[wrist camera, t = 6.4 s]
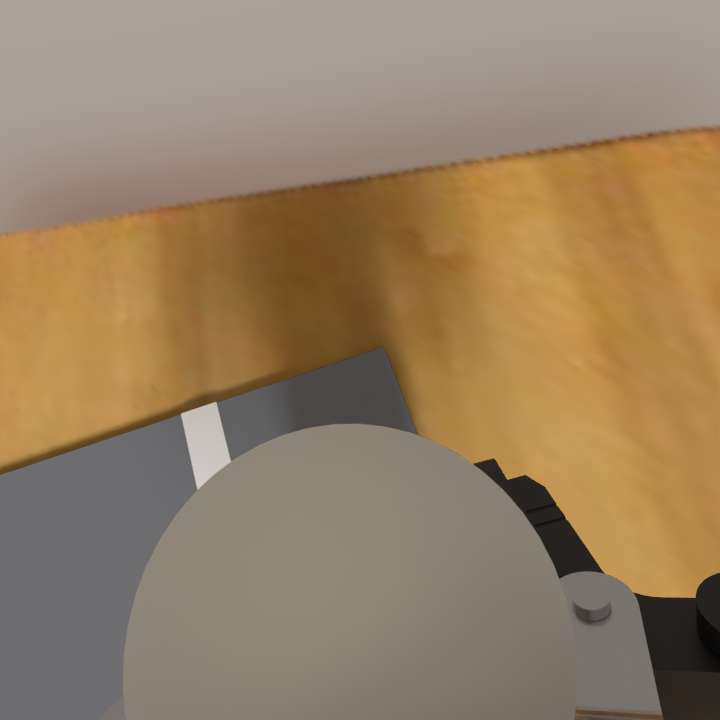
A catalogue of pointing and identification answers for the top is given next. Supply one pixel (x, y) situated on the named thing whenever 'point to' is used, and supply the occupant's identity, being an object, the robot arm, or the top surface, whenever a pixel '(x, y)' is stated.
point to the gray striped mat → (135, 527)
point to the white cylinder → (350, 592)
